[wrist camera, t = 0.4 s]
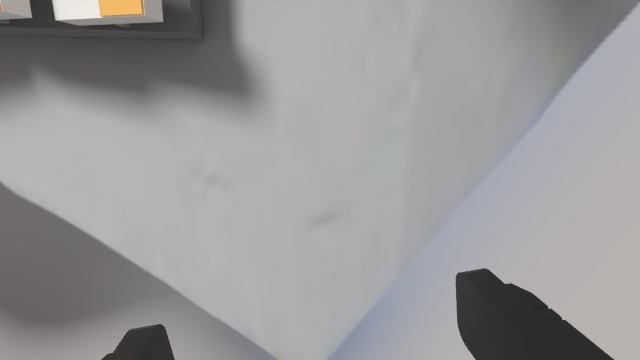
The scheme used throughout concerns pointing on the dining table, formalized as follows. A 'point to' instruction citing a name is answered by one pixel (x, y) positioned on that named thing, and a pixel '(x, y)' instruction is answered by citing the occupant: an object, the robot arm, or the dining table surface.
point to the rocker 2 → (107, 11)
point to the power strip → (177, 24)
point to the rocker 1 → (15, 9)
